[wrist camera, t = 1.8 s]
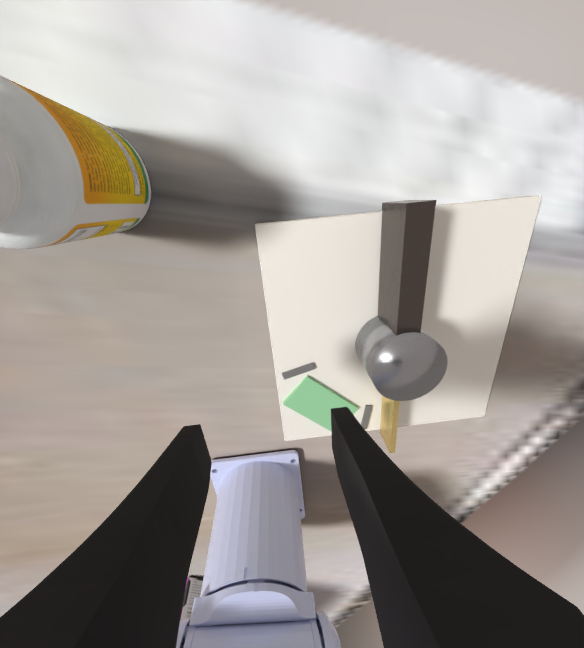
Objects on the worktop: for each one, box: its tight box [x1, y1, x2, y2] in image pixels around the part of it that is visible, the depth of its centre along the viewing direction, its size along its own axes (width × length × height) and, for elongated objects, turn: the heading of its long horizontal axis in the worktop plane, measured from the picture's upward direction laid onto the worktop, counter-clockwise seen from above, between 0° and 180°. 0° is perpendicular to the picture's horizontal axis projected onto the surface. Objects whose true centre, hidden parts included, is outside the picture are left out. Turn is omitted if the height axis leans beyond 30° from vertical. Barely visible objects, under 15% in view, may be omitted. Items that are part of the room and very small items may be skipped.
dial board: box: [255, 196, 542, 441], centre depth 20 cm, size 17×17×1 cm
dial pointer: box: [355, 200, 448, 453], centre depth 17 cm, size 17×4×4 cm, turn 5°
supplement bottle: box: [0, 76, 151, 249], centre depth 11 cm, size 5×5×10 cm
